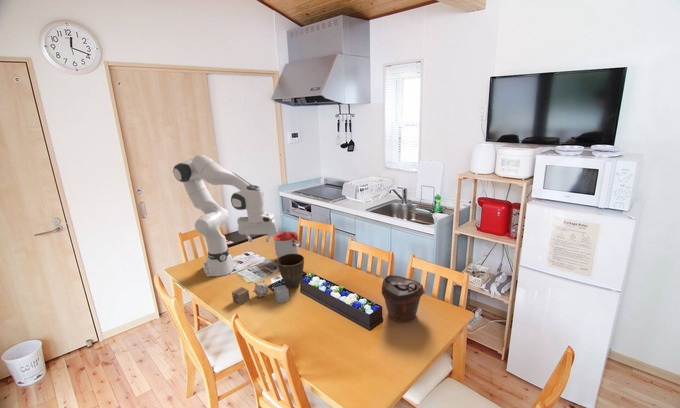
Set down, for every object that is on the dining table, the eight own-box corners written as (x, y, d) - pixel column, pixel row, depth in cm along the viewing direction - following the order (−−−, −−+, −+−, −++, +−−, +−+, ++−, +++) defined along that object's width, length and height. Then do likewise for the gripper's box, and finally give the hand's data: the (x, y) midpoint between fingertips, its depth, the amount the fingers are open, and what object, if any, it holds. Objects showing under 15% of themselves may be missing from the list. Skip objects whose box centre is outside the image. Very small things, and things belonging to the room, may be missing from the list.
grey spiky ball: (259, 303, 179) (246, 290, 176) (268, 290, 184) (255, 278, 182) (267, 300, 172) (253, 287, 170) (276, 288, 178) (263, 275, 176)
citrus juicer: (293, 267, 209) (290, 237, 203) (271, 262, 216) (267, 234, 211) (306, 256, 222) (304, 228, 217) (284, 253, 230) (282, 226, 224)
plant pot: (311, 282, 189) (309, 257, 185) (293, 295, 178) (290, 268, 173) (292, 276, 198) (290, 251, 193) (274, 287, 186) (271, 261, 182)
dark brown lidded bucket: (430, 322, 150) (431, 287, 145) (388, 329, 147) (387, 293, 142) (415, 301, 167) (415, 269, 162) (377, 307, 164) (376, 274, 159)
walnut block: (233, 302, 174) (231, 291, 173) (242, 296, 179) (241, 286, 177) (240, 305, 171) (238, 295, 169) (249, 300, 175) (248, 290, 174)
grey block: (274, 297, 176) (273, 287, 175) (285, 294, 179) (284, 284, 177) (278, 303, 171) (277, 292, 170) (289, 299, 174) (288, 289, 172)
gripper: (234, 219, 169) (237, 244, 173) (274, 218, 168) (276, 243, 172) (238, 215, 175) (242, 239, 179) (277, 214, 174) (279, 239, 178)
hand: (259, 241), depth 176 cm, fingers open, 8 cm apart
